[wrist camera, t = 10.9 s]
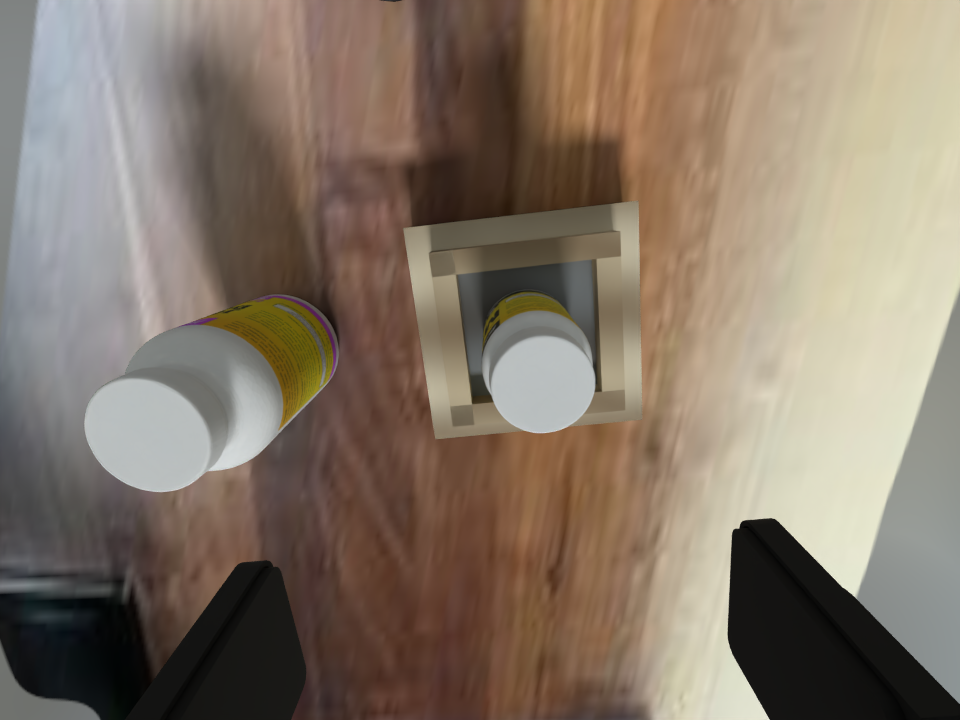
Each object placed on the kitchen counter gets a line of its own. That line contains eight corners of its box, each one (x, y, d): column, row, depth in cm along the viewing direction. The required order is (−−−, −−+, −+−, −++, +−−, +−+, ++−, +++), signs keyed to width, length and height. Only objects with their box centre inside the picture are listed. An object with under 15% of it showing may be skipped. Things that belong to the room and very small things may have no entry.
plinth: (627, 400, 30) (650, 429, 26) (440, 418, 31) (432, 450, 27) (622, 202, 27) (647, 199, 23) (412, 226, 28) (398, 228, 23)
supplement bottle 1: (286, 269, 28) (133, 309, 16) (364, 352, 30) (276, 447, 18) (212, 339, 30) (18, 425, 17) (289, 415, 31) (160, 545, 19)
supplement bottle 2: (482, 288, 25) (479, 323, 17) (572, 287, 25) (611, 321, 17) (483, 374, 27) (481, 443, 19) (568, 374, 27) (603, 443, 19)
